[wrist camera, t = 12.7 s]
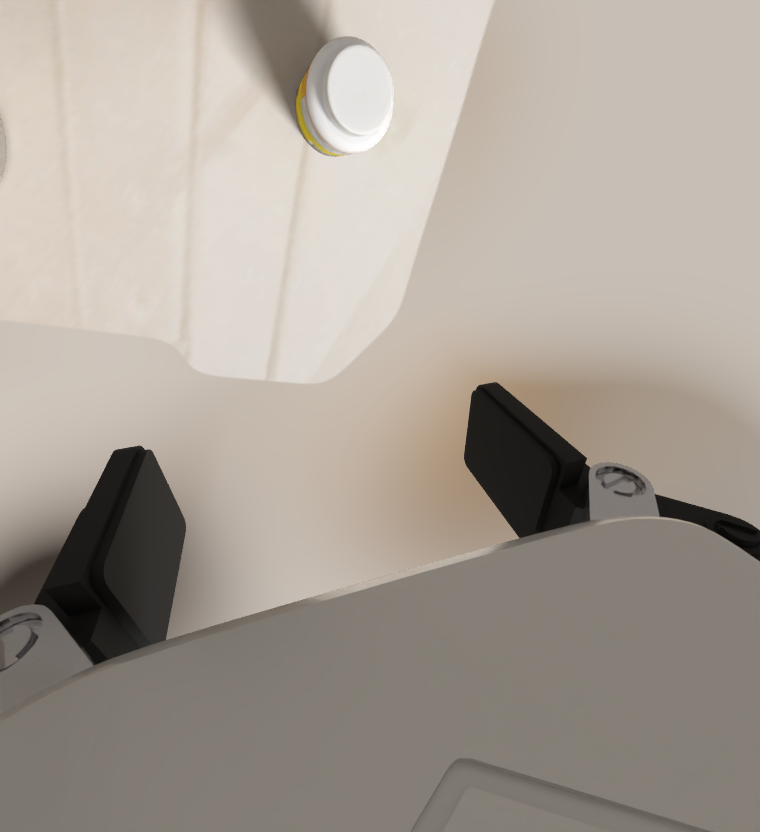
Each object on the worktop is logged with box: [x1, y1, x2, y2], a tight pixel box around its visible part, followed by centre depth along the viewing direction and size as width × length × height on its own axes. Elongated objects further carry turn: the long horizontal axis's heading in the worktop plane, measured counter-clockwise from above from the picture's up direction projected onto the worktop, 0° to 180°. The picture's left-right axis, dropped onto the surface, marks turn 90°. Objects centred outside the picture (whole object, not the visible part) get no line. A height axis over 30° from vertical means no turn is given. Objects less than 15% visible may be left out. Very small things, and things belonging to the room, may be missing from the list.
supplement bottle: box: [295, 37, 394, 157], centre depth 25 cm, size 6×6×10 cm
